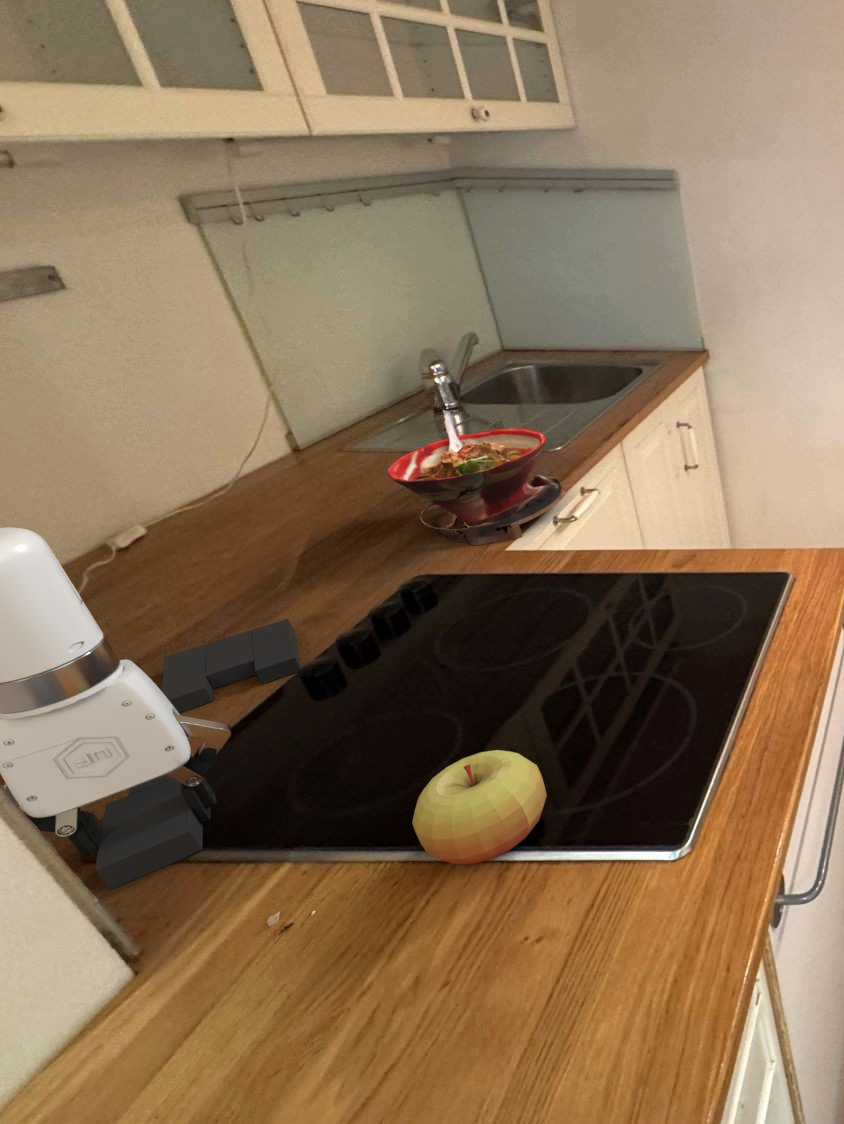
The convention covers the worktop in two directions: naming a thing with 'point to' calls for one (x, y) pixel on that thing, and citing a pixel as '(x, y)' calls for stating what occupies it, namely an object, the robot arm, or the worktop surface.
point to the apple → (479, 807)
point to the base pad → (229, 664)
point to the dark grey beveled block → (146, 832)
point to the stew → (480, 481)
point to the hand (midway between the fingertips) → (156, 831)
